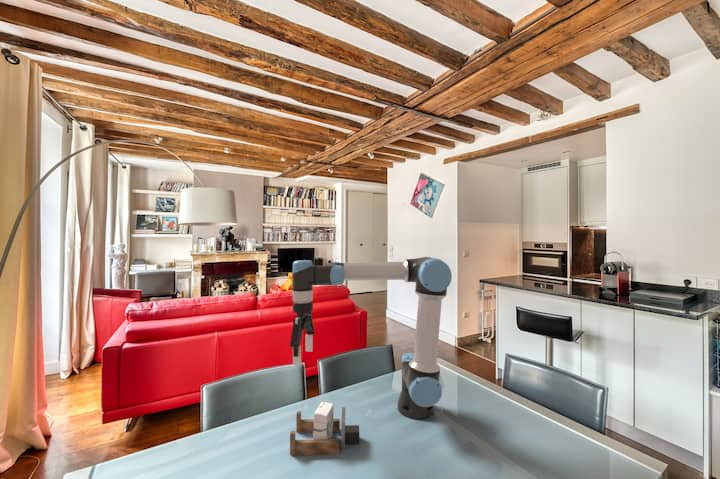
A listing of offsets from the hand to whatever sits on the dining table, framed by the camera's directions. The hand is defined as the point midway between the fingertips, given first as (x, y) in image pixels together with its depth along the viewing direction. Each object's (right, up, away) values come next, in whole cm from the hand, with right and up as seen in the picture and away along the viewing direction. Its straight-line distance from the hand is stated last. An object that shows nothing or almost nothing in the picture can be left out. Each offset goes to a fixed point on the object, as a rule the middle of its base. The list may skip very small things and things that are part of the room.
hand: (303, 357), depth 116 cm
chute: (+7, -27, -7) cm, 29 cm away
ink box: (+8, -27, -7) cm, 29 cm away
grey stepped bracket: (+18, -27, -7) cm, 33 cm away
